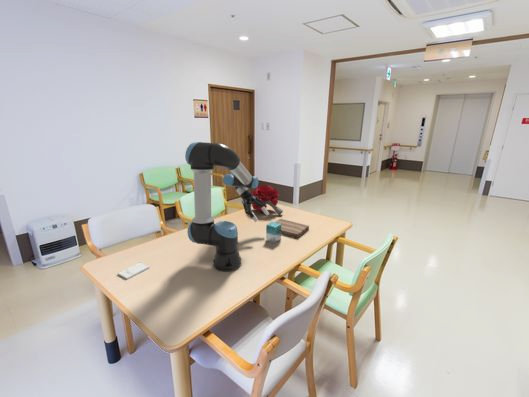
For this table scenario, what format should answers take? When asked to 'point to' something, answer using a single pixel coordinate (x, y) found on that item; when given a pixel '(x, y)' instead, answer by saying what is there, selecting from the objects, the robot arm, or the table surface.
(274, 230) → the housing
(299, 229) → the walnut stand
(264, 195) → the bouquet
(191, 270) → the table surface
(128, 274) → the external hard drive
